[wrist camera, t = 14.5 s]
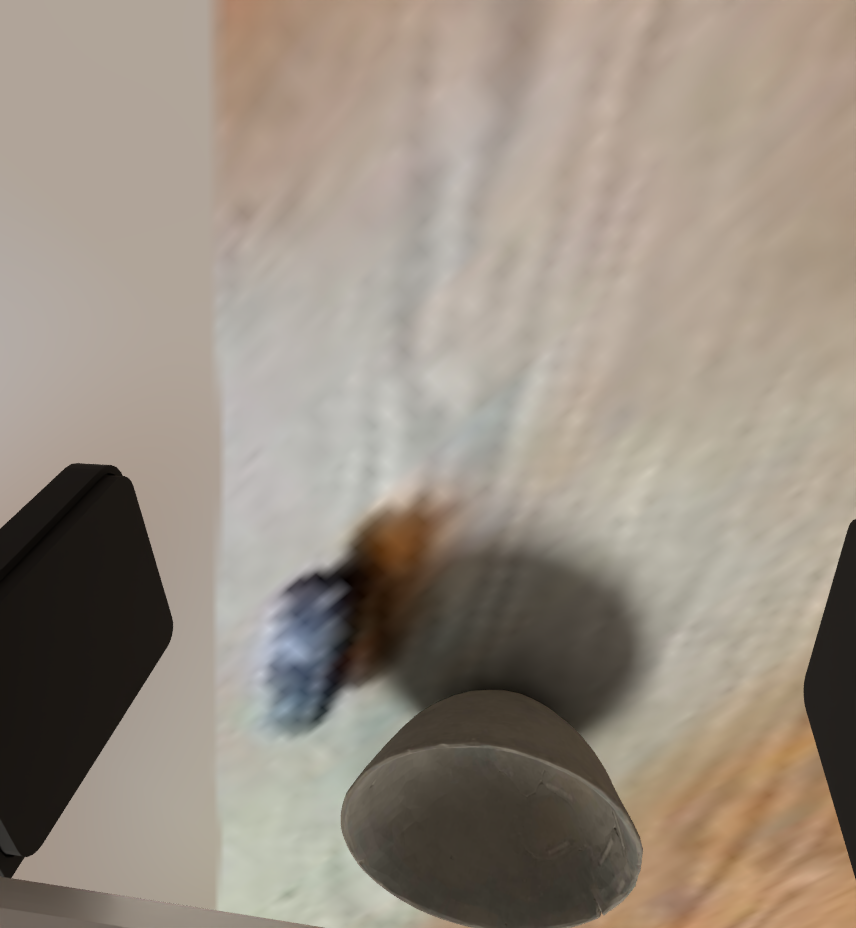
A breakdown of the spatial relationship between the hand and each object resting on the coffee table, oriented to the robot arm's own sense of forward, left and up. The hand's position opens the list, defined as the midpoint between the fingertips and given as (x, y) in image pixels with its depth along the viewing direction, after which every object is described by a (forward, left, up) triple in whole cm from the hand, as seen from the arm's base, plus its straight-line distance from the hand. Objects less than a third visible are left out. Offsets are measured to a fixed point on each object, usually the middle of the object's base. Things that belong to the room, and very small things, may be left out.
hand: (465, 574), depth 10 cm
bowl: (-38, +9, -31) cm, 50 cm away
